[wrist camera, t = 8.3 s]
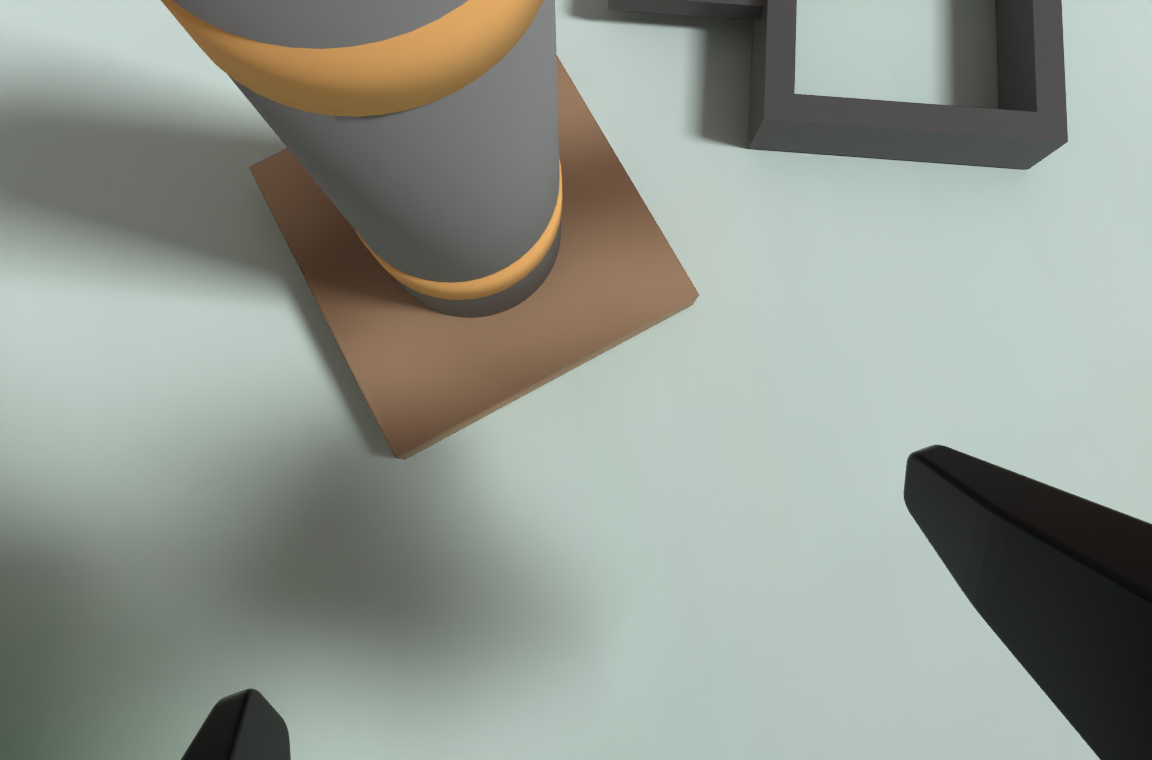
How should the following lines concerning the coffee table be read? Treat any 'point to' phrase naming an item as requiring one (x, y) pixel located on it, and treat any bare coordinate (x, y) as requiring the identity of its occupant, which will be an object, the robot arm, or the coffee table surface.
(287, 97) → the orange-banded grey cylinder
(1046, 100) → the collar
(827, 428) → the coffee table surface
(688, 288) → the walnut pad
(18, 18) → the coffee table surface
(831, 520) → the coffee table surface
